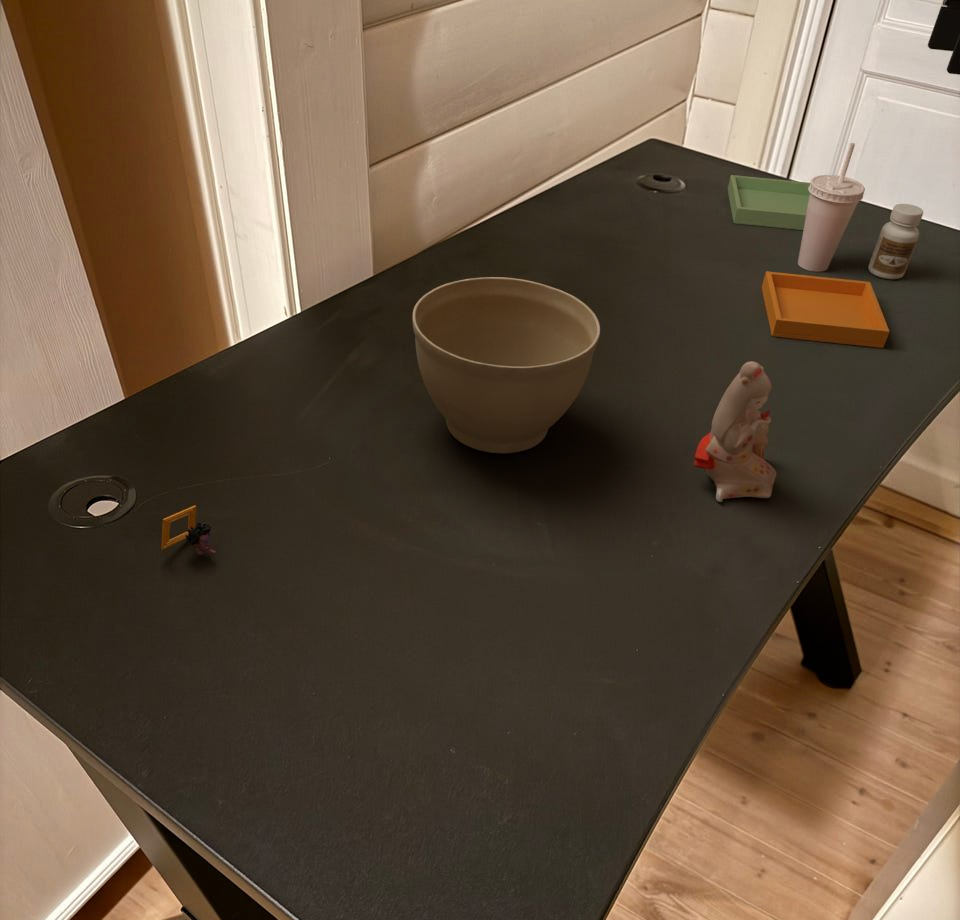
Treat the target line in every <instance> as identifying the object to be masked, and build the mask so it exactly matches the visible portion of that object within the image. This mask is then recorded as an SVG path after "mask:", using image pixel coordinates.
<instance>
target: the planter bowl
mask: <svg viewBox="0 0 960 920" xmlns="http://www.w3.org/2000/svg"><path fill="white" fill-rule="evenodd" d="M412 328H413V333H414V336H415V352H416V353H415V354H416V360H417V364H418V368H419V372H420V376H421V378H422V381H423V384H424V387H425V388H426V391H427V393H428V395H429V396H430V399H431V401H433V404H434V406H435V407H436V408H437V410H438V411H439V413H440V414H441V415H442V416H443V418H444V419H445V424H446V427H447V429H448V431H449V433H450V434H451V435H452V437H453V438H455V440H457V441H458V442H459V443H460V444H463V445H465V446H467V447H469V448H472V449H473V450H477V451H480V452H483V453H484V452H485V453H490V454H491V453H492V454H514V453H519V452H520V453H521V452H524V451H527V450H531V449H532V448H534V447H535V446H537V445H539V444H540V443H542V441H543V440H544V439H545V438H546V436H547V434H548V432H549V429H550V428H551V427H552V426H554V424H555V423H556V422H558V421H559V420H560V419H561V417H563V416H564V414H565V413H566V412H567V411H568V410H569V408H571V406H572V404H573V403H574V402H575V400H576V399H577V397H578V395H580V392H581V391H582V388H583V386H584V384H585V382H586V379H587V377H588V374H589V372H590V369H591V365H592V361H593V357H594V352H595V351H596V349H597V346H598V343H599V341H600V336H601V325H600V321H599V319H598V317H597V315H596V314H595V312H594V311H593V310H592V309H591V308H590V307H589V306H588V305H587V304H586V303H584V302H583V301H581V299H579V298H578V297H576V296H575V295H572V294H570V293H567V292H565V291H563V290H561V289H559V288H556V287H554V286H553V287H552V286H550V285H547V284H543V283H540V282H536V281H532V280H527V279H522V278H513V277H505V276H504V277H503V276H502V277H497V276H495V277H494V276H490V277H489V276H488V277H487V276H485V277H473V278H465V279H459V280H455V281H451V282H447V283H445V284H442V285H440V286H437V287H435V288H433V289H431V290H430V291H428V292H426V293H425V294H424V295H422V296H421V298H420V299H418V301H417V302H416V304H415V305H414V307H413V310H412Z"/></svg>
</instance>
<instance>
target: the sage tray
mask: <svg viewBox="0 0 960 920" xmlns="http://www.w3.org/2000/svg"><path fill="white" fill-rule="evenodd" d="M809 185H810V182H807V181H806V182H805V181H796V180H786V179H778V178H777V179H776V178H766V177H757V176H756V177H755V176H747V175H746V176H745V175H735V174H730V177H729V181H728V186H727V195H728V200H729V206H730V211H731V215H732V216H731V217H732V222H733V224H736V225H737V224H738V225H747V226H757V227H766V228H778V229H786V230H797V231H803V230H804V224H805V219H806V213H807V207H808V201H809V196H810V192H809V190H808V187H809Z"/></svg>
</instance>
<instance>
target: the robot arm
mask: <svg viewBox="0 0 960 920" xmlns="http://www.w3.org/2000/svg"><path fill="white" fill-rule="evenodd" d="M941 4H942V5H941V6H940V8H939V11H938V14H937V17H936V20H935V22H934V25H933V27H932V31H931V34H930V35H929V40H928V42H927V48H929V49H930V50H937V51H945V52H947V51H948V52H952V54H951V56H950V59H949V61H948V64H947V65H946V66H947V67H946V72H947V73H948V74H950V75H957V76H959V75H960V0H942V3H941Z"/></svg>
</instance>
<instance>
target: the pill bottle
mask: <svg viewBox="0 0 960 920" xmlns="http://www.w3.org/2000/svg"><path fill="white" fill-rule="evenodd" d="M923 216H924V209H922V208H921V207H919V206H917V205H914V204H910V203H897V204H895V205H894V206H893V208H892V210H891V212H890V217H889V220H890V221H888V222H886V223H884V224H883V226H882V227H881V230H880V233H879V234H878V238H877V242H876V244H875V247H874V249H873V252H872V255H871V258H870V261H869V263H868V267H867V268H868V271H869V273H871V274H872V275H874V276H875V277H877V278H881V279H883V280H884V279H885V280H899V279H901V278H903V277H904V276H905V273H906V270H907V268H908V265H909V263H910V260H911V259H912V256H913V254H914V250H915V248H916V246H917V243H918V240H919V237H920V230H919V229H918V228H917V227H918V226H919V225H920V223H921V221H922V219H923Z"/></svg>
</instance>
